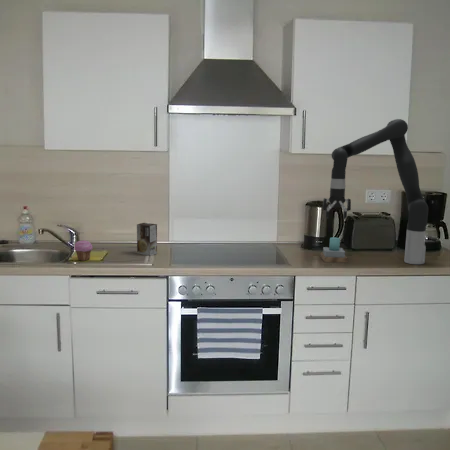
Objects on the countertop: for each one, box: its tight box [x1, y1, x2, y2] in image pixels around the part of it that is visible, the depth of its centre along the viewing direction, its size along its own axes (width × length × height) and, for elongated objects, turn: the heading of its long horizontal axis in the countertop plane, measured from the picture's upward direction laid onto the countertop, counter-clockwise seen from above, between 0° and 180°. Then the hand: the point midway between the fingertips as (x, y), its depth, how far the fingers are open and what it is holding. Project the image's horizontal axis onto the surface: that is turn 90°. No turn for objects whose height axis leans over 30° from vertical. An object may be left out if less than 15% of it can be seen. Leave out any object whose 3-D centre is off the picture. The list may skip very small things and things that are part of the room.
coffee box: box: [136, 222, 158, 256], centre depth 289 cm, size 9×6×16 cm
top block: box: [322, 246, 346, 258], centre depth 285 cm, size 10×10×3 cm
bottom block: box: [319, 251, 349, 263], centre depth 286 cm, size 12×12×3 cm
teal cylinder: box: [328, 236, 341, 251], centre depth 285 cm, size 5×5×6 cm
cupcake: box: [73, 240, 94, 262], centre depth 273 cm, size 9×9×10 cm
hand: (336, 218), depth 282 cm, fingers open, 8 cm apart
